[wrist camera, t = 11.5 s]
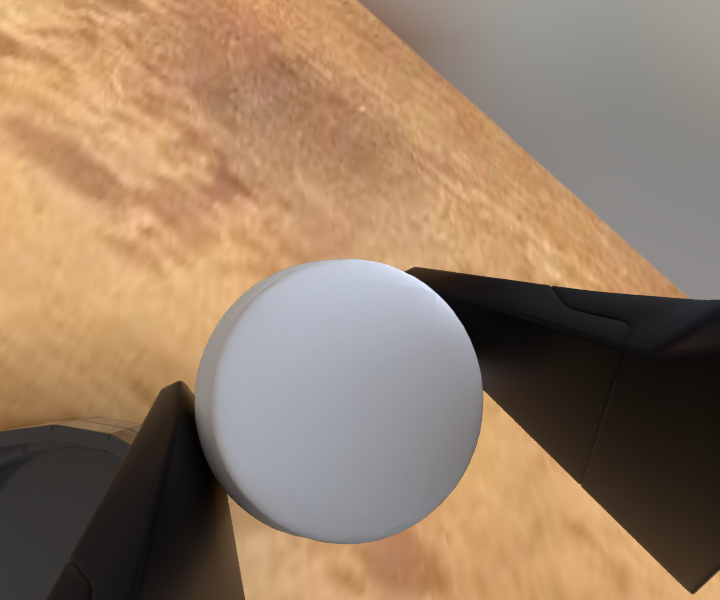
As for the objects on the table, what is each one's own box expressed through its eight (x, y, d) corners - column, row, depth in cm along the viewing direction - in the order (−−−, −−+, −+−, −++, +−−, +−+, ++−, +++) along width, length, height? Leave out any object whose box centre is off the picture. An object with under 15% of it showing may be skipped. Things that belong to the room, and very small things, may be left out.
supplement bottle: (230, 342, 15) (102, 250, 5) (358, 305, 16) (460, 175, 6) (266, 482, 14) (195, 718, 4) (399, 431, 15) (596, 514, 5)
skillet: (223, 400, 19) (206, 404, 15) (236, 708, 16) (219, 804, 12) (-91, 440, 16) (-204, 456, 12) (-138, 816, 13) (-301, 979, 10)
